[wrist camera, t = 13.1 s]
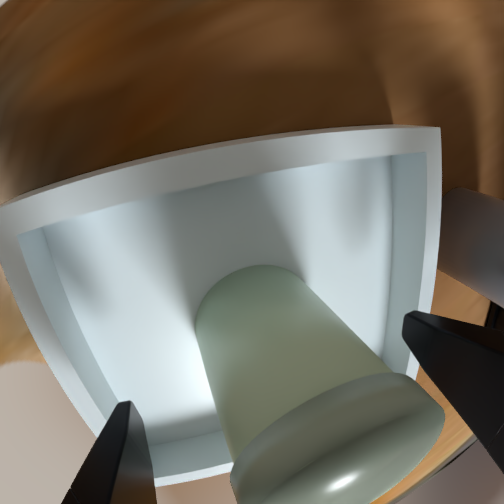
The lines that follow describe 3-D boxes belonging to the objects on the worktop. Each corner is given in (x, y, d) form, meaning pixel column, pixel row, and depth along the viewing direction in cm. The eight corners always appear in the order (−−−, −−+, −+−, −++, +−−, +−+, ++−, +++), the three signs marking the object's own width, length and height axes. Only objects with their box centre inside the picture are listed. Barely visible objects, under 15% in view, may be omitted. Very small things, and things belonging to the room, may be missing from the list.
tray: (384, 370, 16) (410, 398, 14) (137, 448, 13) (140, 488, 11) (394, 124, 11) (440, 127, 9) (19, 195, 8) (-16, 213, 6)
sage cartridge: (318, 350, 13) (417, 476, 7) (206, 386, 12) (259, 546, 6) (313, 244, 11) (469, 363, 5) (173, 279, 10) (217, 477, 4)
